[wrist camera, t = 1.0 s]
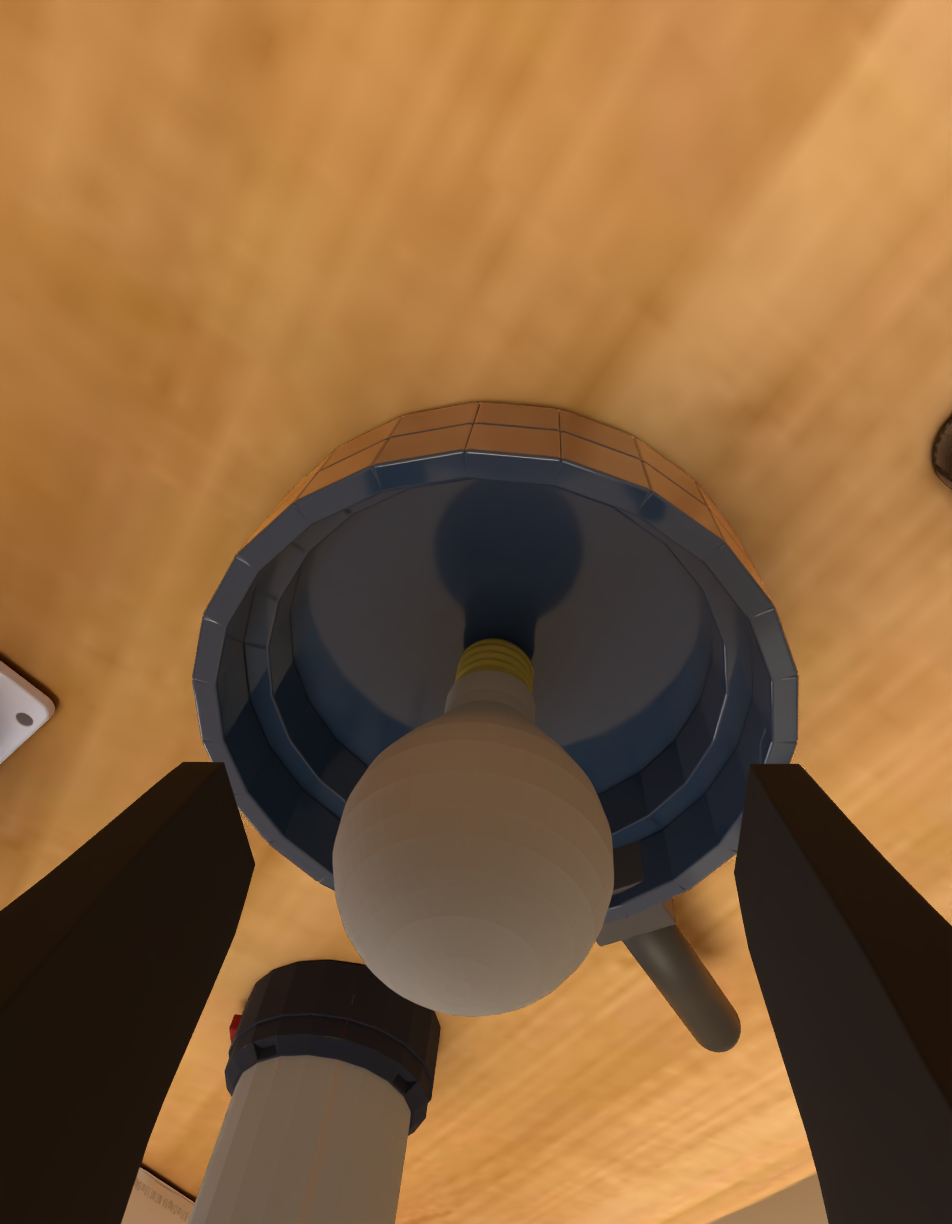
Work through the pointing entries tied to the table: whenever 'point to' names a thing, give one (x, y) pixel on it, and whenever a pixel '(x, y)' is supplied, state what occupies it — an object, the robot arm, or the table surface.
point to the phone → (944, 455)
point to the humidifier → (319, 1100)
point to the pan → (500, 630)
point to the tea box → (156, 1202)
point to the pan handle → (671, 961)
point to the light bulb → (475, 850)
